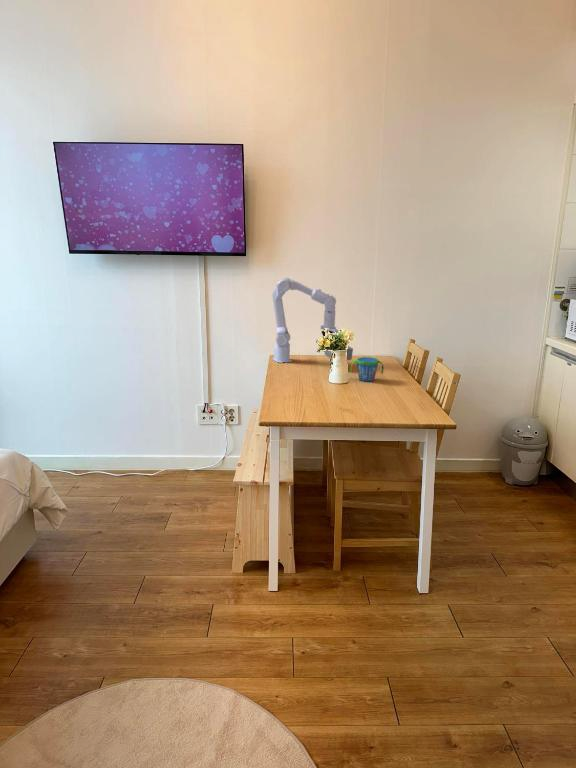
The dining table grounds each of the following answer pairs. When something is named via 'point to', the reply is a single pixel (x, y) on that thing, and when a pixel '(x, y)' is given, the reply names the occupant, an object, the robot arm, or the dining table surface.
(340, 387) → the dining table surface
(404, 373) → the dining table surface
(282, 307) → the robot arm
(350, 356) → the grey stepped block
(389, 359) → the dining table surface
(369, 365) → the snack cup
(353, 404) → the dining table surface
